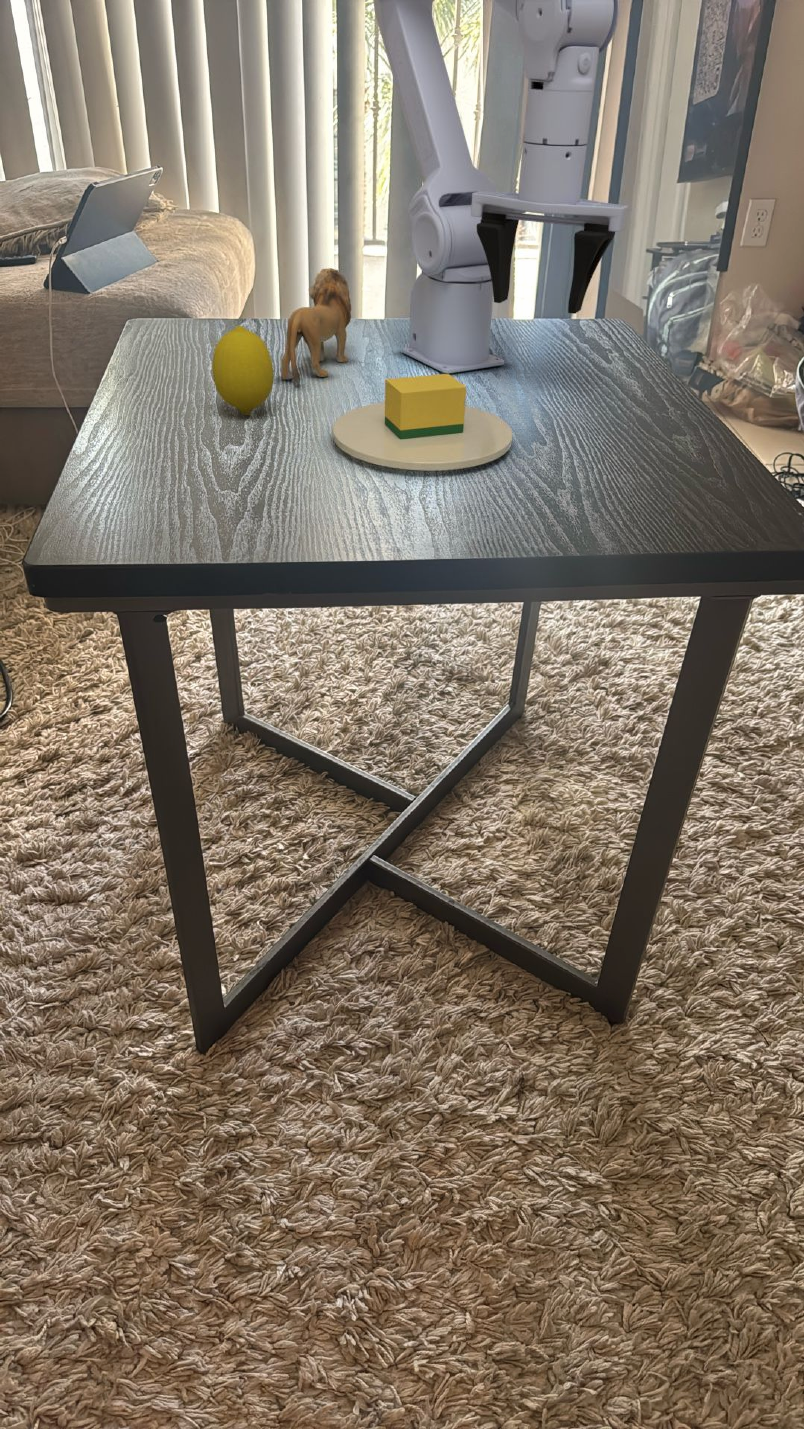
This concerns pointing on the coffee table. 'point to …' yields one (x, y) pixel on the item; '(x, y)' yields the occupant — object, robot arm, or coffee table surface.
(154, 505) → the coffee table surface
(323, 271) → the lion figurine
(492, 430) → the plate
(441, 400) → the sponge
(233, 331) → the lemon
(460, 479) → the coffee table surface
